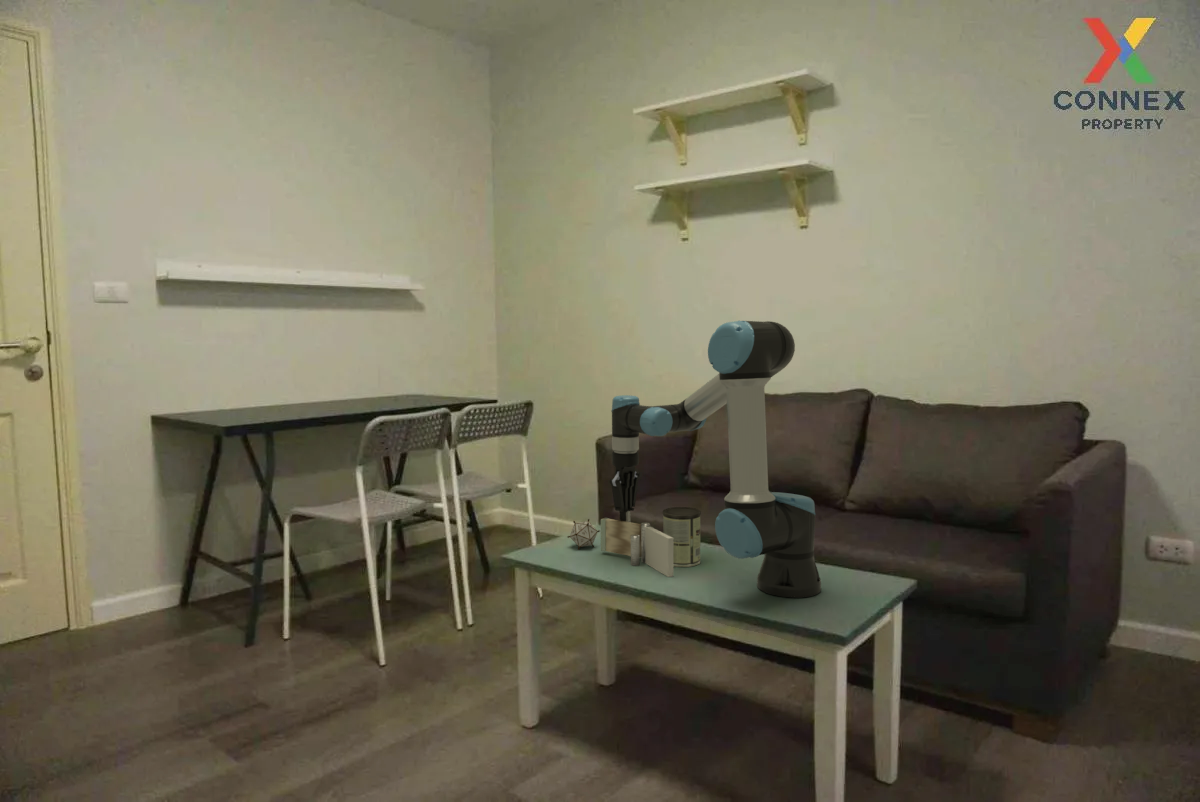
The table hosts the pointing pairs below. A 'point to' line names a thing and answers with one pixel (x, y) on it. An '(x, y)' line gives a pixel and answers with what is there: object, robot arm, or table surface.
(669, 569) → the light grey flat panel
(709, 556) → the table surface
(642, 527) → the gate post
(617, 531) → the gate
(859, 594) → the table surface
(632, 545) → the peg
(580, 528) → the game die
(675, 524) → the coffee can
